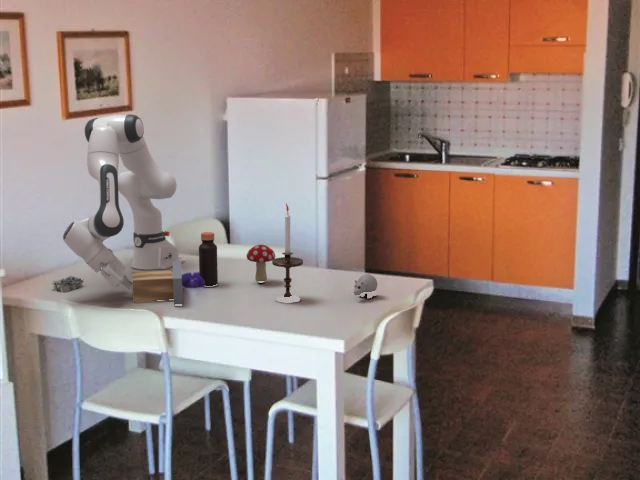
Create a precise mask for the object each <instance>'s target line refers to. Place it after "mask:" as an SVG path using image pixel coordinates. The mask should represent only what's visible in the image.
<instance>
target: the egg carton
mask: <svg viewBox="0 0 640 480" xmlns="http://www.w3.org/2000/svg"><path fill="white" fill-rule="evenodd" d="M84 281H85V279H82V278H81V277H80V278H79V277H77V276H74V275H69V276H68V277H65V278H63V277H62V278H61V279H58V280H53V281H51V285H53V291H54V290H60V291H59V292H61V293H65V292H66V293H67V292H70V291H72V290H73V291H75V290H76V289H78V288H83V283H84Z"/></svg>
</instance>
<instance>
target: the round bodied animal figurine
mask: <svg viewBox="0 0 640 480" xmlns="http://www.w3.org/2000/svg"><path fill="white" fill-rule="evenodd" d="M354 283H355V284H354V287H353V288H354V289H353V294H354V296H356V295H360V294H361V293H363V292H372V291H375V290H377V288H378V281H377V278H376V277H375V276H374V275H372V274H369V273H365V274H362V275H361V276H360V277H359V278H358V279H355V280H354Z"/></svg>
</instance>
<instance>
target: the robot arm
mask: <svg viewBox="0 0 640 480" xmlns="http://www.w3.org/2000/svg"><path fill="white" fill-rule="evenodd" d="M144 131H145V130H144V123H143V120H142V118H140V117H139V116H138V115H136V114H130V113H129V114H114V115H109V116H103V117H99V118H98V117H95V118H92V119H89V120H88V121H87V122H86V123H85V126H84V136H85V139H86V141H87V143H88V146H87V154H86V155H87V156H86V157H87V158H86V159H87V160H86V162H87V163H86V165H87V170H88V174H89V175H90V176H91V177H92V178H93V179H95V180H96V181H97V182H98V184H99V207H98V209H97V212H96V213H94V214H93V215H91V216H89V217H87V218H85V219H82V220H77V221H72V222H71V223H70V224H69V225H68V227H67V228H66V230H65V231H64V233H63V236H62V239H63V242H64V243H65V245H66V246H67V247H68V248H69V249H70V250H71V251H72V252H73V253H74V254H75V255H76V256H78V257H79V258H81V259H82V260H84V262H85V264H86V265H87V266H88V267H90V268H91V269H92V270H93V271H94V272H95V273H99V272H100V273H101V275H102V276H103V278H105V280H107V281H108V283H110V285H112V286H113V287H115V288H117V287H119V286H120V285H122V286H124V287H125V288H127V289H128V290H129V289H131V288H133V282H132V281H131V280H130V279H129V277H127V275H126V274H125V273H126V266H125V264H123V262H121V261H120V259H119V258H118V257H117V256H116V255H115V254H114V252H113V250H111V249H110V248H108V247H107V246H106V245H105V244H104V241H106V240H107V239H110V238H111V237H115V236H116V235H118V234H120V233H121V231H122V229H123V228H124V224H125V223H124V221H125V219H124V216H123V214H122V213H123V212H121V208H120V201H119V193H120V194H121V195H122V196H123V197H124V198H125V199H126V201H127V202H128V204H129V206H130V208H131V211H132V215H133V217H132V218H133V227H134V228H133V229H134V232H133V235H132V236H133V244H134V246H133V255H132V263H131V267H132V268H134V269H138V270H167V269H169V268H173V261H181V264H182V263H185V261H186V260H185V259H184V257H180V256H179V255H180V254H179V250H178V248H177V247H176V245H174V244H173V243H171V242H170V241H168V240H167V239H166V237H170V235H171V232H170V231H167V230H165V231H163V226H162V225H163V222H162V221H163V220H162V212H161V211H160V209H158V208H157V207H156V206H155V205H154V204H153V203H152V201H151V200H164V199H170V198H172V197H173V196H174V195H175V194H176V191H177V187H178V185H177V180H176V178H175V177H174V175H173V174H171V173H169V172H167V171H166V170H164V168H162V167H161V166H160V165H159V164H158V163H157V162H156V161H155V159H154V158H153V156H152V154H151V153H150V150H149V148H148V145H147V142H146V140H145V138H144V133H145V132H144ZM119 157H120V158H119ZM119 159H121V162H122V164H123V166H124V167H125V168H126V169H127V170H126V171H122V172H121V173H120V174H119V164H120V163H119V162H120V160H119Z"/></svg>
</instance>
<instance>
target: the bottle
mask: <svg viewBox="0 0 640 480" xmlns="http://www.w3.org/2000/svg"><path fill="white" fill-rule="evenodd" d="M200 241H201V244H199V246H198V269H199V273H198V274H199V275H200V276H201V277H202V278H203V279H204V280H205V285H206V286H213V285H216V284H219V282H218V281H219V280H218V279H219V278H218V274H219V273H218V246H217V245H216V244H215V242H214V241H215V233H214V232H212V231H211V232H210V231H207V232H205V231H203V232H201V233H200Z"/></svg>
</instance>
